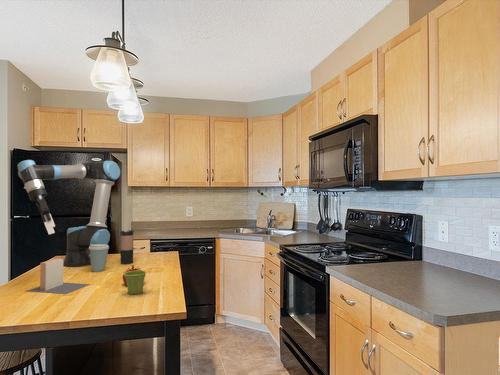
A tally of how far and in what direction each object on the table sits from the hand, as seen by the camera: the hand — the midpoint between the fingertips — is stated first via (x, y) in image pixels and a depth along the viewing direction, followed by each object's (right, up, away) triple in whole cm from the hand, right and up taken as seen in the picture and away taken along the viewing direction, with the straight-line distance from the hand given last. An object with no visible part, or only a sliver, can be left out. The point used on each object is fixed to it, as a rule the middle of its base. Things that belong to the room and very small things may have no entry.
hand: (52, 230), depth 160 cm
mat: (+8, -26, -8) cm, 28 cm away
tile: (+4, -25, -7) cm, 26 cm away
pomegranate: (+39, -26, 0) cm, 47 cm away
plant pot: (+45, -26, -13) cm, 53 cm away
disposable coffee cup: (+10, -26, +28) cm, 40 cm away
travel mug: (+18, -27, +48) cm, 58 cm away
